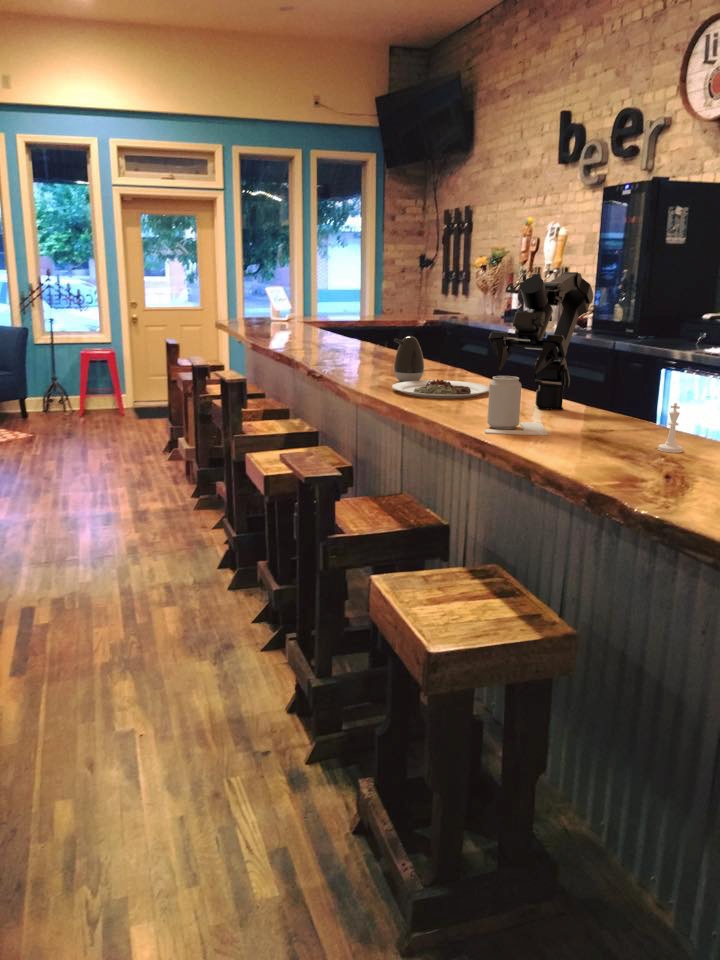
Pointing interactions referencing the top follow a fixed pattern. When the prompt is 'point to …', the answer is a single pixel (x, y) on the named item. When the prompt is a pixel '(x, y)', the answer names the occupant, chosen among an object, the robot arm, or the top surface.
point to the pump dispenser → (408, 360)
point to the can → (504, 402)
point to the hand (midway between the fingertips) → (516, 371)
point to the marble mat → (527, 428)
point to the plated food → (440, 388)
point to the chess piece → (672, 434)
